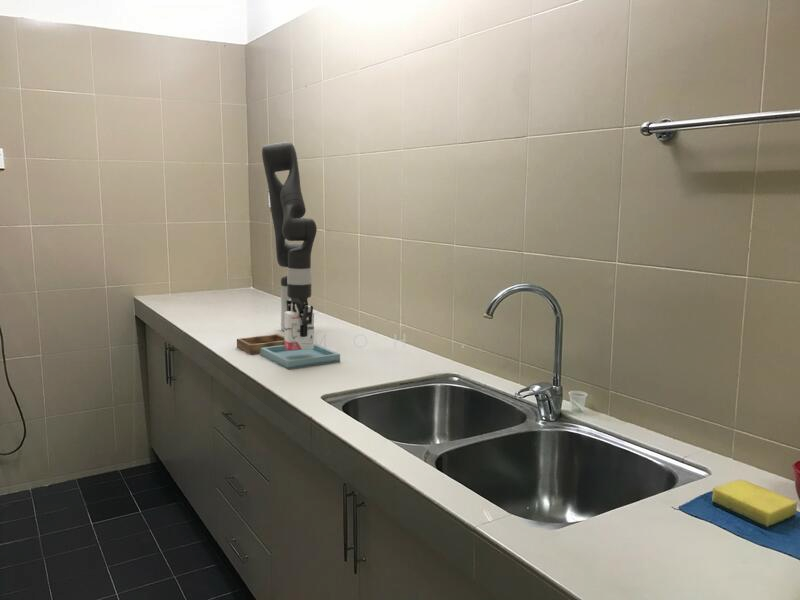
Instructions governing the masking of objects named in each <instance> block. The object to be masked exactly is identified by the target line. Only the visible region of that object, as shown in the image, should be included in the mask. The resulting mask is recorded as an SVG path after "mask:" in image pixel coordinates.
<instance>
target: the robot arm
mask: <svg viewBox="0 0 800 600" xmlns="http://www.w3.org/2000/svg"><path fill="white" fill-rule="evenodd" d="M261 156H262V157H261V158H262V162H263V167H264V172H265V177H266V182H267V187H268V195H269V203H270V211H271V212H270V213H271V218H272V224H273V229H274V237H275V254H276V260H277V264H278V265H279V267H283V268H287V272H286V273H287V275H285V276H282V277H281V279H280V317H281V318H280V320H281V321H280V329H281V331H284V312H286V311H292V312H296V313H297V314H298V318H299V320H300V336H301V337H306V336H307V325H308V324H311V322H312V313H314V312H313V311H314V306H313V305H309V302H308V299H310V298H311V297H312V270H311V268H312V267H311V266H312V265H311V263H312V261H311V260H312V257H311V256H312V252H313V251H312V250H313V246H314V242H315V239H316V235H317V230H318V229H317V224H316V222H315V220H314V219H313V218H309V217H306V218H305V217H304V216H305V214H306V210H307V209H306V204H305V201H304V197H303V193H302V188H301V177H300V170H299V162H298V157H297V156H298V155H297V152H296V149H295V145H294V144H293V143H292V142H290V141H283V142H282V141H281V142H277V143H269V144H264V145H263V146H262V150H261ZM285 171H289V173H288V175H287V178H286V180H285V182H284V183H282V181H281V180H280V179H279V178H278V176H277V174H276V173H278V172H285ZM303 217H304V218H303ZM286 240H287V241H289V242H286ZM301 314H304V315H301ZM308 317H309V320H308ZM302 318H303V320H302Z"/></svg>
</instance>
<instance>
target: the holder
mask: <svg viewBox="0 0 800 600" xmlns="http://www.w3.org/2000/svg"><path fill="white" fill-rule="evenodd" d="M279 345H284V335H280V334H276V333H275V334H268V335H258V336H251V337H249V336H248V337H240V338H236V348H237V349H239V350H241V351H243V352H245V353H246V354H248V355H257V354H260V348H264V347H272V346H279Z"/></svg>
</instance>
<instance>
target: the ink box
mask: <svg viewBox="0 0 800 600" xmlns="http://www.w3.org/2000/svg"><path fill="white" fill-rule="evenodd" d="M301 315H304V314H301ZM302 320H303V318H302ZM308 320H309V317H308ZM283 337H284V348H285V349H287V350H289V351H293V350H304V349H314V344H315V313H314V312H313V313H312V322H311V324H308V325H307V336H306V337H301V336H300V320H299V318H298V314H297V313H296V312H292V311H286V312H284V335H283Z"/></svg>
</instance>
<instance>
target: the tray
mask: <svg viewBox="0 0 800 600" xmlns="http://www.w3.org/2000/svg"><path fill="white" fill-rule="evenodd" d="M259 355H260V356H261V357H264V358H265V359H267V360H268V361H269V360H270V361H271V362H272V363H275V364H276V365H278V366H281V367H283V368H284V369H287V370H293V369H300V368H306V367H307V368H308V367H313V366H320V365H327V364H332V363H339V362H341V353H338V352H336V351H333V350H331V349H329V348H326V347H325V346H321V345H319V344H317V343H314V349H304V350H293V351H289V350H287V349H285V348H284V345H279V346H272V347H264V348H260V353H259Z"/></svg>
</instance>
